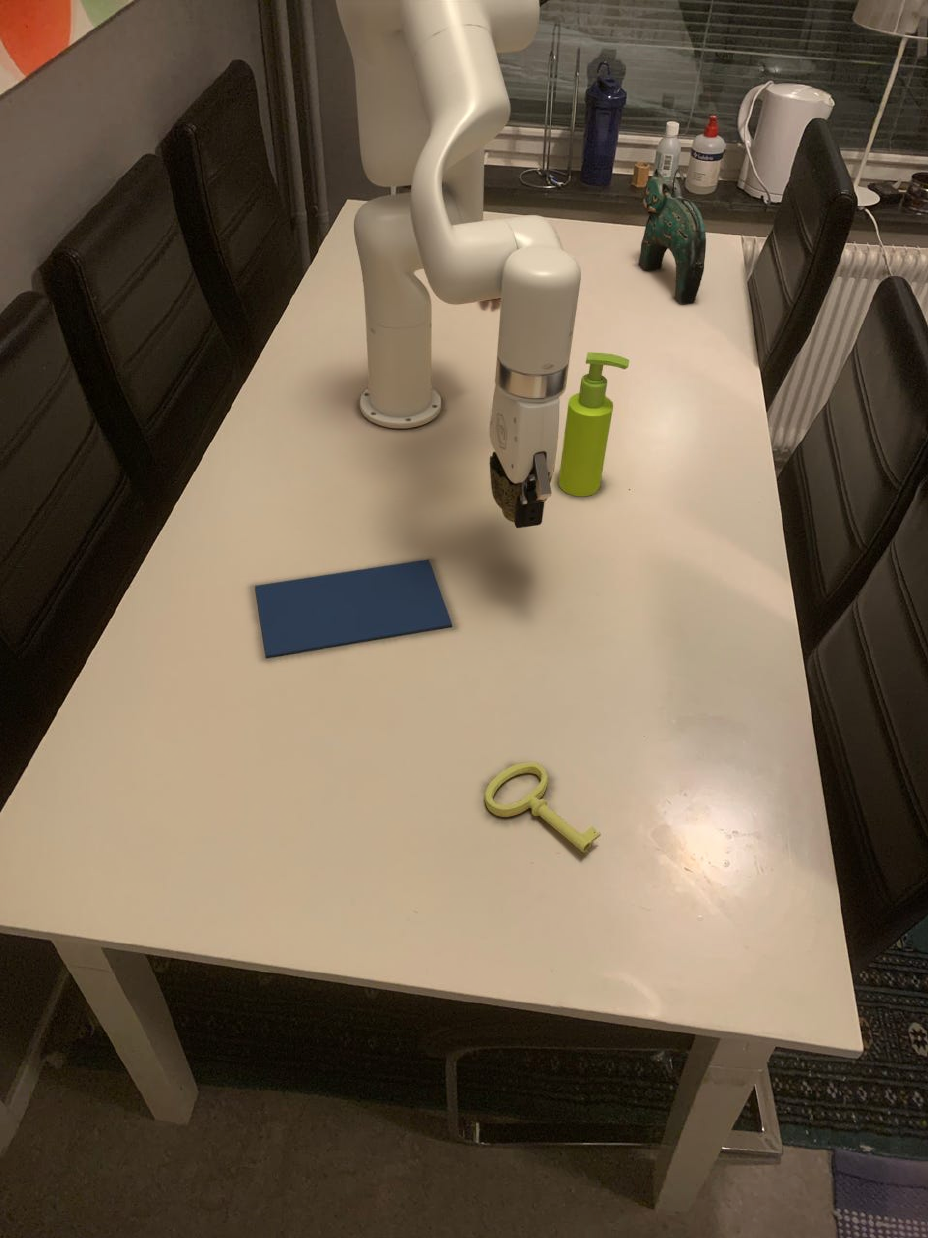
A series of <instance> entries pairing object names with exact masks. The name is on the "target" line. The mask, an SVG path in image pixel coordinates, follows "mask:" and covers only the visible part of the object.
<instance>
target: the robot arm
mask: <svg viewBox="0 0 928 1238" xmlns="http://www.w3.org/2000/svg"><path fill="white" fill-rule="evenodd" d="M335 5H336V8H337V13H338V17H339V21H340V24H341V26H342V30H343V33H344V35H345V39H346V41H347V44H348V46H349V49H350V53H351V57H352V61H353V68H354V78H355V95H356V108H357V109H356V110H357V125H358V140H359V151H360V152H359V153H360V159H361V165H362V169H363V172H364V174H365V176H366V179H368V180H369V182H371V184H374V185H376V186H378V187H385V188H396V187H406V186H411V187H410V192H401V193H395V194H387V195H383V196H378V197H375V198H372V199H370V200H368V201H366V202H365V203H363V204H362V205H361V206H360V207H359V208H358V209H357V211H356V213H355V215H354V220H353V235H354V240H355V245H356V250H357V255H358V260H359V264H360V271H361V276H362V285H363V286H362V287H363V298H364V313H365V315H364V316H365V330H366V331H365V333H366V353H367V354H366V355H367V369H368V370H367V374H368V375H367V376H368V388H366V389H365V390H364V391H363V393H361V395H360V398H359V410H360V412H361V415H362V416H363V417H364V418H366V419H367V420H368V421H370V422H371V423H373V424H375V425H377V426H381V427H385V428H388V429H389V428H390V429H413V428H416V427H421V426H423V425H426V424H429V422H432V421H433V420H434V419H436V418H437V417H438V416H439V414H440V413H441V410H442V397H441V396H440V393H438V391H437V390H436V389H434V388H433V387H432V347H433V346H432V345H433V344H432V343H433V342H432V338H433V337H432V335H433V334H432V331H433V329H432V328H433V327H432V325H433V316H432V315H433V312H432V311H433V310H432V309H433V308H432V306H433V305H432V299H431V295H430V291H429V290H428V288H427V286H426V285H425V284H424V283H423V282H422V280H421V279H420V278H418V277H417V276H416V274H415V272H416V271H419V270H423V271H424V274H425V276H426V277H425V278H426V279H427V283H428V285H429V287H430V288H431V291H432V292H433V293H434V294H435V296H436V297H437V298H438V299H439V300H441V302H444V303H446V304H449V305H454V306H455V305H456V306H457V305H458V306H459V305H466V304H472V303H478V302H483V301H490V300H495V299H500V308H499V322H498V323H499V324H498V337H497V351H496V363H495V364H496V365H495V377H494V383H495V387H494V391H493V398H492V404H491V405H492V406H491V413H490V422H489V431H488V432H489V440H490V443H491V445H492V447H493V448H492V449H493V450H494V451H495V452H496V454H497V456H498V459H499V461H500V463H501V465H502V467H503V469H504V471H505V473H506V475H507V477H508V478H509V479H510V480H511V481H512V482H513V483H520V486H519V489H520V498H518V499H517V501H516V511H515V521H514V522H513V523H514V524H513V525H514V527H515V528H516V529H522V528H528V527H536V526H540V525H542V523H543V518H544V517H543V516H544V510H545V502H546V501H547V500H548V499H549V498H551V496H552V487H551V482H550V481H549V478H550V477H551V476H552V477H553V475H554V472H555V468H554V466H555V467H556V460H557V454H558V453H557V452H558V443H559V430H560V429H559V428H560V403H561V402H560V397H562V395H563V394H564V393H565V391H566V389H567V382H568V377H569V376H568V375H569V370H570V369H569V367H570V361H571V360H570V359H571V353H572V345H573V337H574V331H575V325H576V324H575V322H576V316H577V309H578V302H579V296H580V287H581V280H582V279H581V278H582V272H581V267H580V264H579V261H578V260H577V258H576V257H575V256H573V255H572V254H571V253H570V252H568V251H567V250H565V249H564V246H563V245H562V242H561V239H560V236H559V234H558V232H557V230H556V229H555V227H554V225H553V224H552V223H551V222H550V220H549V219H547V218H546V217H544V216H542V215H537V214H527V215H526V214H524V215H519V216H512V217H504V218H495V219H487V220H484V196H485V195H484V193H485V146H486V145H487V144H488V143H490V142H491V141H492V140H494V139H495V138H496V137H497V136H498V135H499V134H500V133H501V132H502V131H503V130H504V128H505V127H506V126H507V124H508V122H509V120H510V117H511V112H512V111H511V110H512V109H511V101H510V98H509V94H508V90H507V88H506V84H505V80H504V76H503V72H502V69H501V66H500V62H499V58H498V54H506V53H516V52H520V51H522V50H526V49H527V48H528V47H529V46H530V45H531V44H532V42H533V40H534V39H535V38H536V35H537V32H538V29H539V24H540V16H541V15H540V12H541V7H540V0H335ZM531 469H533V471H534V473H533V474H529V472H530V471H531ZM553 471H554V472H553ZM552 474H553V475H552ZM528 481H535V483H536V488H535V490H534V491H530V492H527V482H528Z"/></svg>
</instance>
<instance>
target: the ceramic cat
mask: <svg viewBox="0 0 928 1238" xmlns="http://www.w3.org/2000/svg"><path fill="white" fill-rule="evenodd" d="M677 173H679V176H680V179H681V181H682V182H684V181H685V177H684V174H683V171H682V169H680V168H676V169H675V172H674V175H673V176H663V175H662V174H661V173H660V171H659V169H658V168H655V171H654V173H653V176H652V177H651V178H649V179H648V180H647V181H646V183H645V187H644V192H643V199H642V204H643V208H644V210H645V211H646V213H647V214H648V218H647V220H646V223H645V228H644V231H643V237H642V240H641V243H640V253H639V257H638V258H639V259H638V266H639V268H641V269H642V270H643V271H645V272H654V271H661V270H662V267H663V261H664V257H665V255H666V252H667V250H669V251H670V252H671V255H672V257H673V259H674V263H675V285H674V286H675V287H674V300H675V301H676V302H677V303H678V304H680V305H688V304H693V303H695V301H696V298H697V295H698V292H699V289H700V286H701V282H702V280H703V275H704V271H705V260H706V251H707V250H706V249H707V234H706V233H707V232H706V226H705V223H704V219H703V217H702V214H701V212H700V210H699V209H698V208H697V206H696V205H695V203H694V202H693V201H691V199H688V198H684V197H683V196H682V191H681V186H680V183H679V181H678V179H677V178H676V177H677V176H676V175H677Z"/></svg>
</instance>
